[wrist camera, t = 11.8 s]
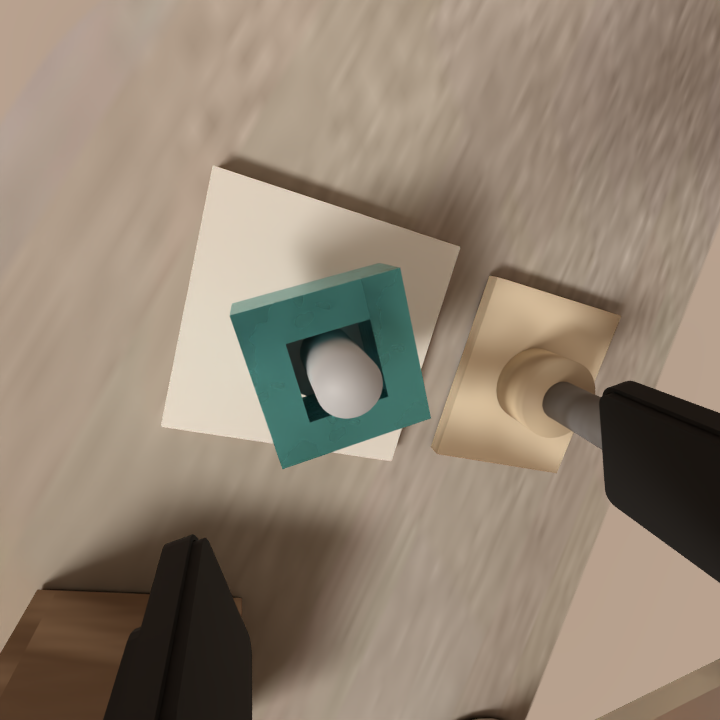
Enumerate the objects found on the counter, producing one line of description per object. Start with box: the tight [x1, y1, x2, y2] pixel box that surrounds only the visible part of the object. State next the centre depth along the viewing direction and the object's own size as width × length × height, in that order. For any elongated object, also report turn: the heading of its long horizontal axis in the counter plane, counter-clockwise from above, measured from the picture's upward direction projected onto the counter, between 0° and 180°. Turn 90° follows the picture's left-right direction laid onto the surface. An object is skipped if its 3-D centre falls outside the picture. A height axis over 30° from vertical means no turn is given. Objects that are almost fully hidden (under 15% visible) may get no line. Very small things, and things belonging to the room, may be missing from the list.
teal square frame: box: [230, 263, 431, 469], centre depth 20 cm, size 7×7×3 cm
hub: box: [161, 166, 460, 461], centre depth 21 cm, size 14×14×10 cm
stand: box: [431, 276, 621, 473], centre depth 26 cm, size 12×10×8 cm
